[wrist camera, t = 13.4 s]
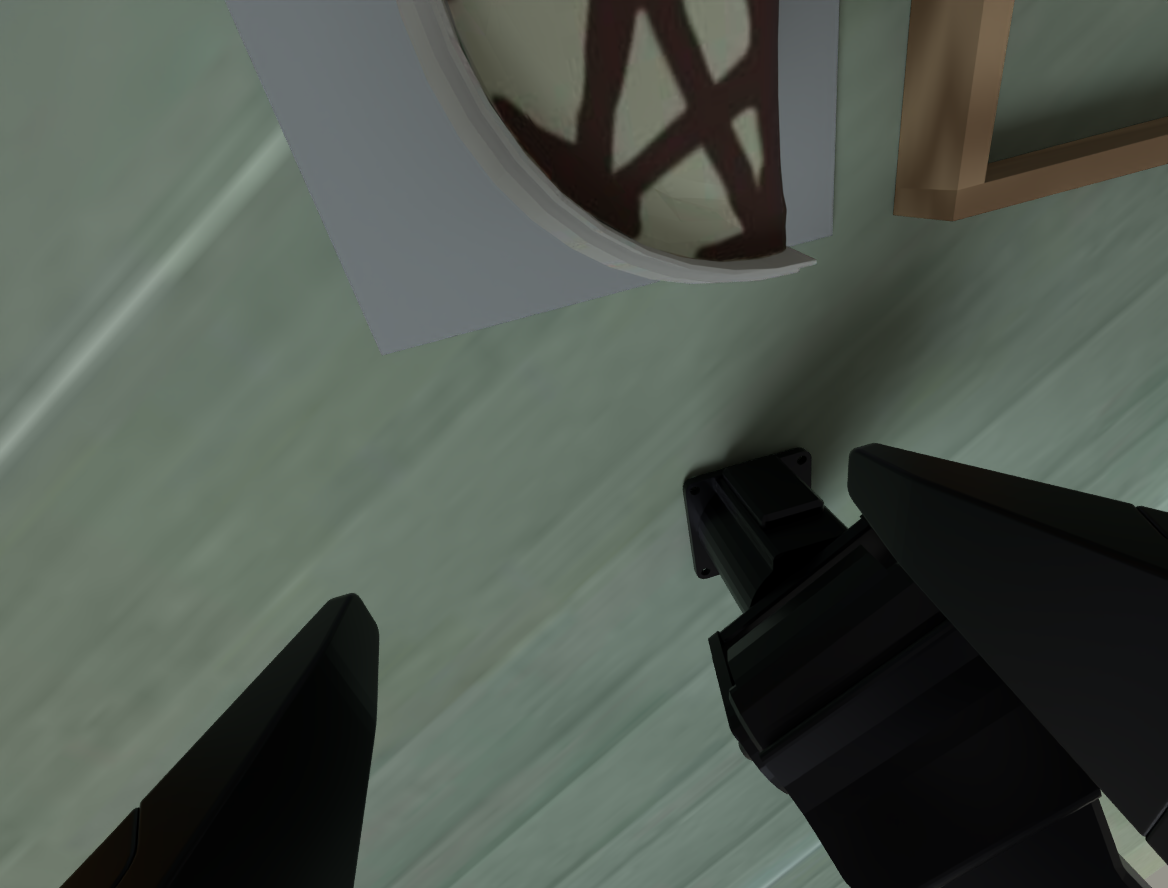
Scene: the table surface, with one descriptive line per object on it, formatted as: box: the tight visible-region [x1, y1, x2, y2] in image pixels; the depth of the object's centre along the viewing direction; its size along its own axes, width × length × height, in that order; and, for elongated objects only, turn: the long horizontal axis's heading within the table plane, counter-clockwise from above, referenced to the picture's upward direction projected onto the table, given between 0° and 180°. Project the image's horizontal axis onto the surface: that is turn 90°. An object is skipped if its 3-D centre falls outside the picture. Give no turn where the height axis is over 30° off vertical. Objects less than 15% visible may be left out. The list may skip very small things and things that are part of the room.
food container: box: [396, 0, 817, 284], centre depth 11 cm, size 12×6×10 cm, turn 15°
